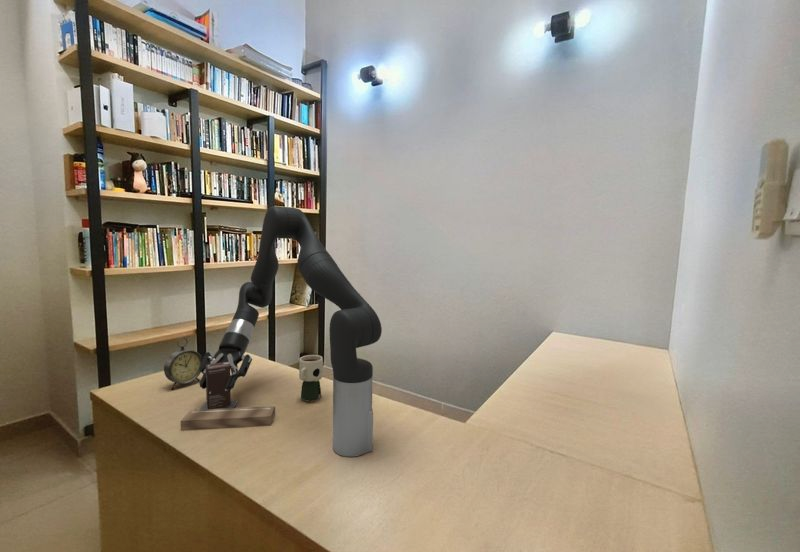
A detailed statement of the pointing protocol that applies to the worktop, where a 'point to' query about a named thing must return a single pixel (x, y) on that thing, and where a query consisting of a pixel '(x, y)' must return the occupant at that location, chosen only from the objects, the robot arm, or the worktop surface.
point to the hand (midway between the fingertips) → (215, 388)
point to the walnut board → (228, 418)
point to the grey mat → (233, 404)
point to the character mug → (310, 376)
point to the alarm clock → (183, 366)
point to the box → (217, 385)
